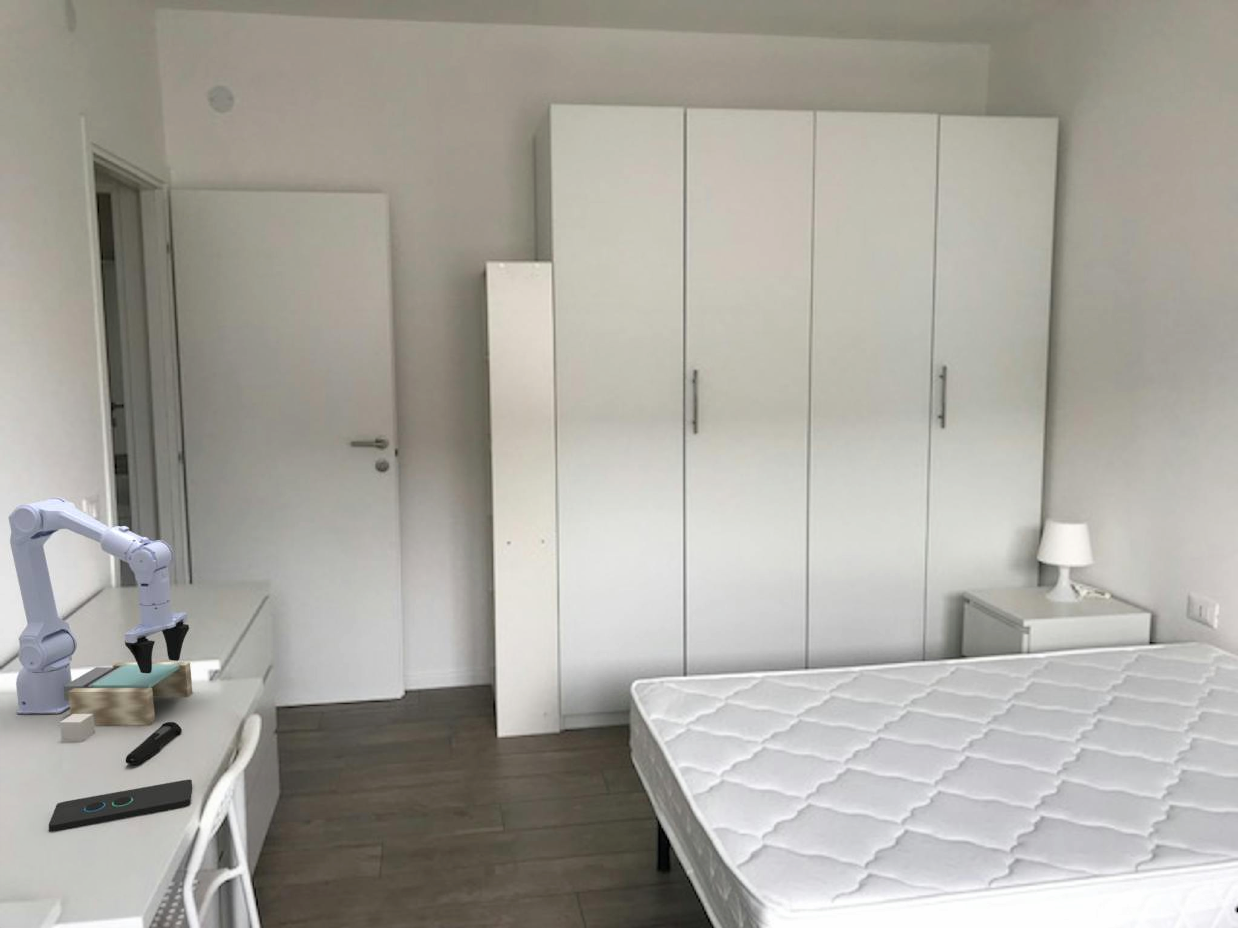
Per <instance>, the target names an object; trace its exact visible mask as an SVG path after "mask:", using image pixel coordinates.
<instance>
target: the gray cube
mask: <svg viewBox="0 0 1238 928" xmlns="http://www.w3.org/2000/svg"><path fill="white" fill-rule="evenodd" d="M59 726H60V727H59V728H60V736H61V742H62V743H63V742H64V743H74V742H75V743H76V742H79V743H81V742H82V743H83V742H85V740H87V739H88V738H90V737H91V736H93V735H94V734H95V733H96V730H95V725H94V718H93V714H72V715H71V716H70V715H68V716H67V717H65V719H63V720H61V721H60V722H59Z"/></svg>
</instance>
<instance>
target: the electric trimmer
mask: <svg viewBox="0 0 1238 928" xmlns="http://www.w3.org/2000/svg"><path fill="white" fill-rule="evenodd" d="M182 731H183V730H182V728H181V726H180V725H179V724H178V723H177V722H174V721H168V722H164V723H162V724H161V725H160V727H159V728H158V729H156V730H155V731H154V732H152V733H151V734H150V735H149V736H148V737H146V739H145V740H144V741H143V742H141V743H140V744H139V745H138V746H137V747H136V748H134V749H133V750H131V752H130V753H128V754H127V755H126V757H125V763H126V764H131V765H132V764H136V765H137V764H140V763H142V762H143V761H146V760H147V759H148V758H150V757H152V756H153V755H155V754H157V753H159V752H160V750H161V746H163V745H165V744H166V743H167V742H168V741H169V740H170V739H172V738H174V736H176V735H181V734H182Z"/></svg>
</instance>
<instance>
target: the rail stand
mask: <svg viewBox="0 0 1238 928" xmlns="http://www.w3.org/2000/svg"><path fill="white" fill-rule="evenodd" d="M124 664H126V665H138V664H137V662H134V661H133V662H128V661H127V662H125V661H124V662H123V661H121V662H120V661H118V662H117V663H115V664H113V665H112V667H114V668H115V669H117V668H119V667H120V666H122V665H124ZM153 664H179V665H180V668H179V669H177V670H176V671H175V672H173V673H172V674H170V675H169V676H167V677H166V678H164V679H163V680H161V681H160V682H158V683H157V684H155V685H154V686H152V687H151V688H74V689H72V690H70V691H69V692H68V695H69V705H70V708H69V713H70V715H69V716H71V715H72V714H93V718H94V726H151V725H152V724H153V723H155V722H156V718H155V707H154V698H156V697H157V698H158V697H159V698H161V697H163V698H165V697H168V698H169V697H171V698H172V697H175V698H176V697H177V698H178V697H180V698H181V697H184V698H185V697H187V698H188V697H189V696H191V695H192V694H193V682H192V669H191V662H190V661H185V662H184V661H183V662H182V661H169V662H168V661H164V662H163V661H157V662H155V661H152V665H153Z"/></svg>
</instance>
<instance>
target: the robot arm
mask: <svg viewBox="0 0 1238 928" xmlns="http://www.w3.org/2000/svg"><path fill="white" fill-rule="evenodd" d="M7 519H8V522H9V526H10V539H9V543H10V544H9V545H10V548H11V549H10V550H11V553H12V559H13V563H14V566H15V571H16V572H15V573H16V576H17V581H18V586H19V591H20V596H21V599H22V605H23V608H24V613H25V618H26V622H27V625H26V626H25V628H24V629H23V631H21V633H20V635H19V636H18V642H19V648H18V652H17V653H18V654H17V655H18V661H19V662H20V665H21V666H23V668H21V670H20V671H19V672H18V674H17V676H16V682H15V683H16V684H15V685H16V695H17V696H16V697H17V705H18V706H17V707H18V710H16V714H61V713H63V712H65V711H66V710H67V709H70V705H69V700H65V699H64V689H63V686H65V685H66V684H68V683H70V682H72V681H73V680H72V673H71V671H72V670H71V664H70V663H71V662H72V660H73V658H72V656H73V655H74V654H75V652H76V651H77V648H78V641H77V639H76V637H75V635H74V634H73V632H72V630H71V628H70V623H69V622H67V621H65V620H64V619H62V618H59V615H58V614H59V613H58V610H57V605H56V601H55V596H54V591H53V587H52V582H51V577H50V573H49V567H48V563H47V558H46V553H45V547H44V545H45V544H46V543H47V541H48V540H49V539H50V538H51V536H53V534H55V533H56V532H58V531H60V530H65V529H66V530H68V531H71V532H72V533H75V534H78V535H81V536H83V537H86V538H87V539H91V540H92V541H95V542H98V543H100V547H101V550H102V551H103V552H105V553H107V554H109V555H111V556H113V557H115V558H117V559H119V560H121V561H123V562H124V563H125V562H126V563H127V564H128V565H129V568H130V569H131V571H132V572H133V573H134V576H135V577H134V578H135V581H136V582H137V589H138V590H137V591H138V602H139V603H138V604H139V614H140V623H139V625H137V626H135V627H134V628H133V629H131V630H128V631H127V632H124V639H125V640H124V644H125V646H126V647H127V649H128V650H129V652H130V653H131V654H132V655H133V658H134V659H135V661H136V662H137V664H138V666H139V669H140V672H141V673H151V671H152V662H153V661H152V660H153V649H154V646H155V643H156V642H155V640H150V639H149V638H147V637H150V636H152V635H155V634H157V633H159V632H162V635H163V637H164V640H165V645H166V651H167V657H168V660H169V661H173V662H179V661H180V656H181V652H182V648H183V643H184V640H185V638H186V636H187V633H188V632H189V630H190V626H189V624H185V623H187V622H188V613H187V612H176V613H173V611H172V599H171V598H172V597H171V585H170V574H169V566H170V565H171V564H172V563H173V560H174V551H173V548H172V547H171V546H170V545H169V544H168V543H167V542H166V541H164V540H162V539H157V540H150V539H149V538H148V537H147V536H141V535H139V534H137V533H134V532H132V531H131V530H130V527H128V526H126V525H123V526H119V525H117V526H113V527H110V526H108V525H106V524H104V523H103V522H100V521H98V520H97V519H96V518H93V517H92V516H90V515H88V514H87V513H85V512H83V511H82V510H80V509H77V508H76V505H75V503H74V502H70V501H67V500H66V499H64V498H63V497H57V496H56V497H52V498H50V499H46V500H41V501H37V502H32V503H25V504H19V506H16V508H14V509H13V511H12V512H11V513H10V515H8V518H7ZM172 613H173V614H172Z"/></svg>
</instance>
